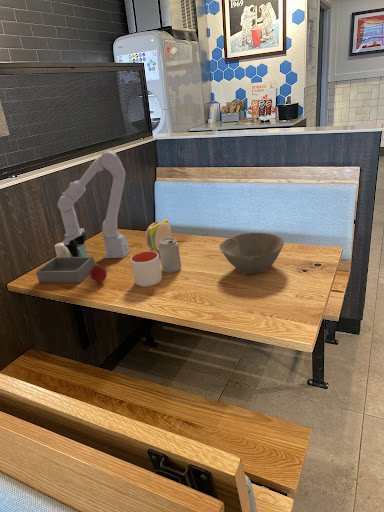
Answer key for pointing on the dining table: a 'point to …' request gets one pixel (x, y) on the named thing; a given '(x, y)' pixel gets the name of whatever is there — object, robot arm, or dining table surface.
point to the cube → (81, 250)
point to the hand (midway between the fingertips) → (78, 254)
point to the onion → (98, 273)
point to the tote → (65, 270)
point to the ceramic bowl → (252, 251)
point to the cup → (146, 268)
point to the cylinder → (61, 250)
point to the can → (169, 255)
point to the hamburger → (157, 234)
